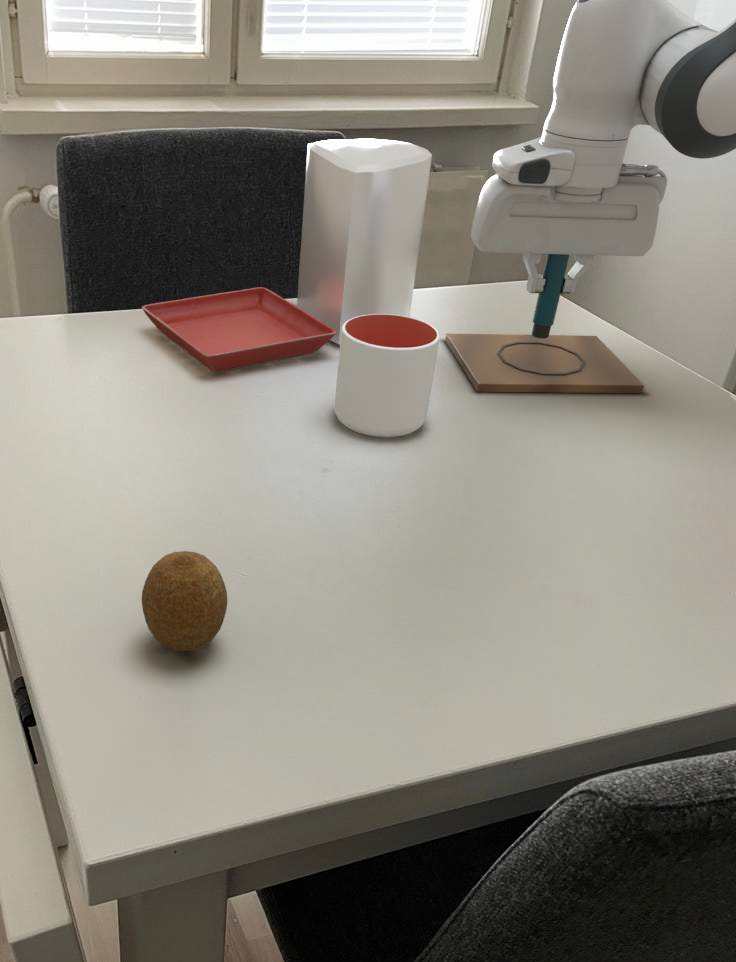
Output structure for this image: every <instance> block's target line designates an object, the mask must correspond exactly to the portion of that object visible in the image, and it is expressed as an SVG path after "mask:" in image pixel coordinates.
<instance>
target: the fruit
mask: <svg viewBox="0 0 736 962" xmlns="http://www.w3.org/2000/svg"><path fill="white" fill-rule="evenodd" d="M228 601H229V600H228V591H227V588H226V585H225V581H224V579H223V576H222V573H221V572H220V571H219V569H218V567H217V566H216V564H214V563H213V562H212V560H211V559H209V558H208V557H207V556H205V554H202V553H199V552H196V551H188V550H181V551H173V552H170V553H167V554H165V555H163V556H162V557H161V558H160V559H159V560H157V562H155V563H154V564H153V565H152V567H151V569H150V570H149V571H148V574H147V576H146V579H145V582H144V585H143V587H142V591H141V607H142V613H143V618H144V620H145V623H146V626H147V628H148V630H149V632H150V633H151V634H152V635H153V637H154V638H155V640H156V641H157V642H158V643H160V644H161V645H162V646H164V647H166V648H168V649H171V650H173V651H179V652H189V651H190V652H191V651H197V650H199V649H201V648H205V647H206V646H208V645H209V644H210V643H211V642H212V641H213V640H214V639H215V638H216V636H217V635H218V633H219V632H220V631H221V629H222V626H223V623H224V620H225V618H226V613H227V609H228Z"/></svg>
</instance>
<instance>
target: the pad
mask: <svg viewBox="0 0 736 962" xmlns="http://www.w3.org/2000/svg"><path fill="white" fill-rule="evenodd" d="M444 341H445V344H446V345H447V346H448V348H449V350H450V351H451V353H452V354H453V356H454V358H455V360H456V361H457V362H458V364H459V365H460V367H461V369H462V370H463V372H464V374H465V375H466V376H467V379H468V380H469V381H470V383H471V384H472V386H473V388H474V390H475V391H476V392H477V393H559V394H560V393H564V394H565V393H566V394H567V393H571V394H572V393H577V394H581V393H582V394H643V392H644V389H645V384H643V382H642V381H641V380H640V379H639V378H637V376H636V375H635V374H634V373H633V372H632V371H631V370H630V369H629V368H628V367H627V366H626V365H625V364H624V363H623V361H621V360H620V359H619V358H618V356H617V355H615V354H614V352H613V351H611V349H610V348H609V347H608V346H607V345H606V344H605V343H604V342H603V341H602V340H601V339H600V338H599V337H598V336H597V335H572V334H571V335H570V334H569V335H567V334H554V335H553V334H549V337H548V338H536V337H534V336H532V334H505V333H503V334H501V333H497V334H496V333H495V334H494V333H493V334H492V333H446V334H445V338H444Z"/></svg>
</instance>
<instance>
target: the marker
mask: <svg viewBox="0 0 736 962" xmlns="http://www.w3.org/2000/svg"><path fill="white" fill-rule="evenodd" d="M545 259H546V260H545V263H544V268H543V272H542V275H543V277H545V279H546V281H545V285H544V286H543V288H544V290H543V293H538V294H537V300H536V304H535V309H534V313H533V318H532V323H533V326H532V330H531V335H532V336H534V337H536V338H548V337H549V335H550V332H551V329H552V326H553V325H554V323H555V319H556V315H557V310H558V306H559V301H560V297H561V295H562V294H561V289H562V285H563V281H564V276H565V275H566V272H567V268H568V263H569V259H570V255H564V254H546V258H545Z"/></svg>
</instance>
